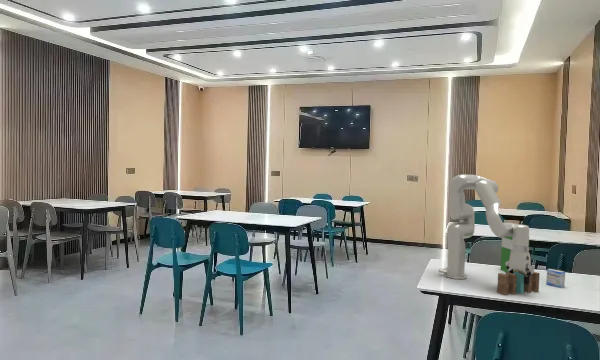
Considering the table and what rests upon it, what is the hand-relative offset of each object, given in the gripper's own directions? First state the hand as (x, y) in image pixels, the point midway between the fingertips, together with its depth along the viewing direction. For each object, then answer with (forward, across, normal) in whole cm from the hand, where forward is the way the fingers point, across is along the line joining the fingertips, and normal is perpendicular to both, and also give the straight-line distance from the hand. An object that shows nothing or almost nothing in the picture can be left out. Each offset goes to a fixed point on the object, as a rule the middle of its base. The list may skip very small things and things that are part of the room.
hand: (518, 281), depth 228 cm
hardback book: (+6, +34, -33) cm, 48 cm away
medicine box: (+6, +5, -32) cm, 33 cm away
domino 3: (+5, 0, -5) cm, 8 cm away
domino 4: (+5, 0, -10) cm, 12 cm away
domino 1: (+5, 0, +10) cm, 12 cm away
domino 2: (+5, 0, +5) cm, 8 cm away
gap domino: (+5, 0, 0) cm, 5 cm away
